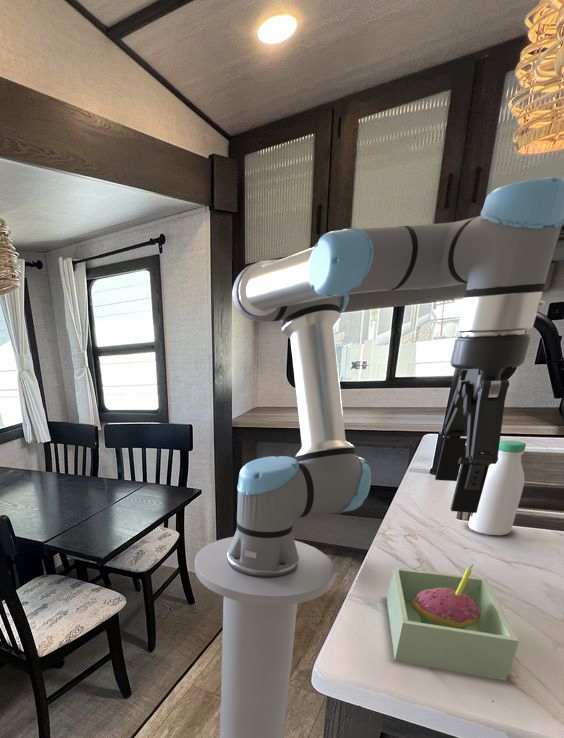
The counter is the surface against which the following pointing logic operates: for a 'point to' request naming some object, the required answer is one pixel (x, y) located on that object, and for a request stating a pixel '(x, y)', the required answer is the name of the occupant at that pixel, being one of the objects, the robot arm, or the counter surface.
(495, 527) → the milk bottle
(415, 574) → the tub
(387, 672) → the counter surface
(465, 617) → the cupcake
